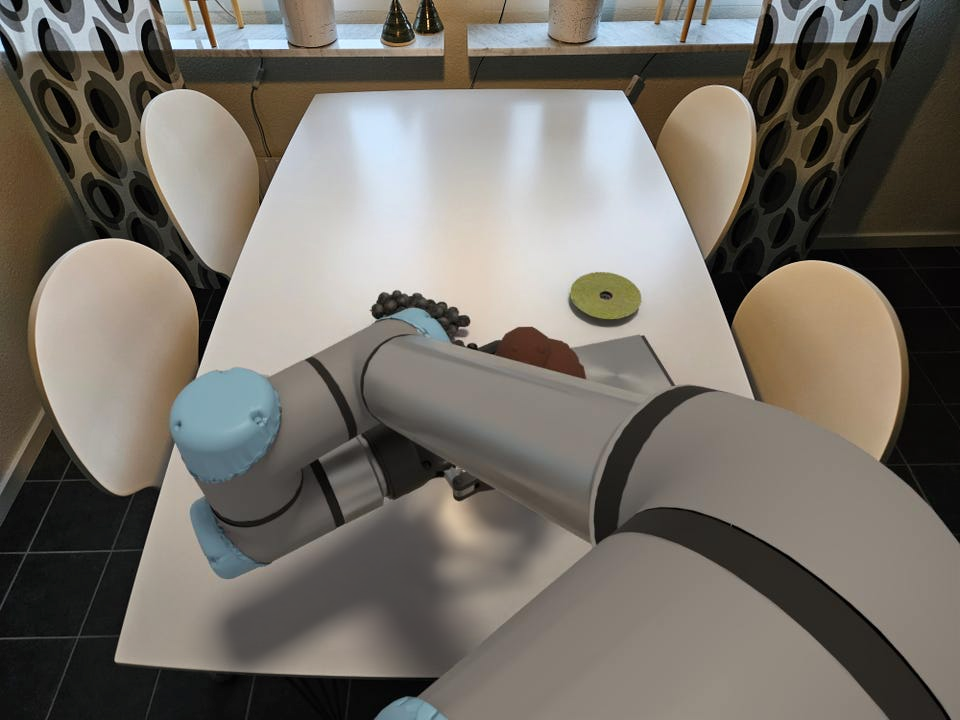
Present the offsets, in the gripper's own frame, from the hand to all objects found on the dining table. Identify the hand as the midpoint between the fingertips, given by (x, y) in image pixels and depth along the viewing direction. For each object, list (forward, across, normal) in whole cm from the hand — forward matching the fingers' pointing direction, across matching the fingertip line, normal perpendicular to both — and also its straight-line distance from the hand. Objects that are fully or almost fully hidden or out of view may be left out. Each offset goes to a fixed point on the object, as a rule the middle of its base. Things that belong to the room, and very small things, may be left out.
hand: (564, 374), depth 67 cm
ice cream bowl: (-4, 0, -8) cm, 9 cm away
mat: (+27, -22, -20) cm, 40 cm away
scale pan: (+16, -7, -17) cm, 25 cm away
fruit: (-2, -30, -20) cm, 37 cm away
